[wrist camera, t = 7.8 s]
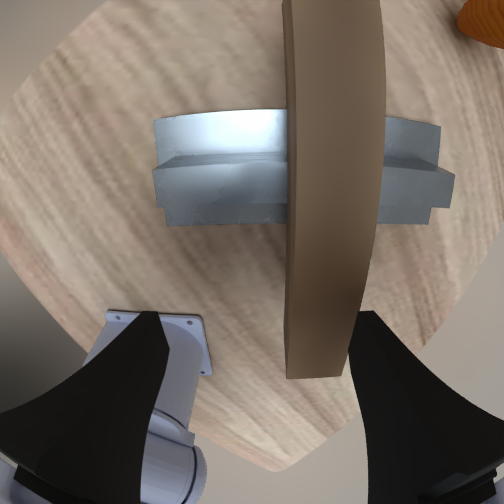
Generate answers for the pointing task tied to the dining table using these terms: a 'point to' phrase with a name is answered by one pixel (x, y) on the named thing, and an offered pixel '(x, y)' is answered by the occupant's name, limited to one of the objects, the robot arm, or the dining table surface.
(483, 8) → the carrot
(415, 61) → the dining table surface
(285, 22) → the walnut rod
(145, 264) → the dining table surface
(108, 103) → the dining table surface
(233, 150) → the stand
